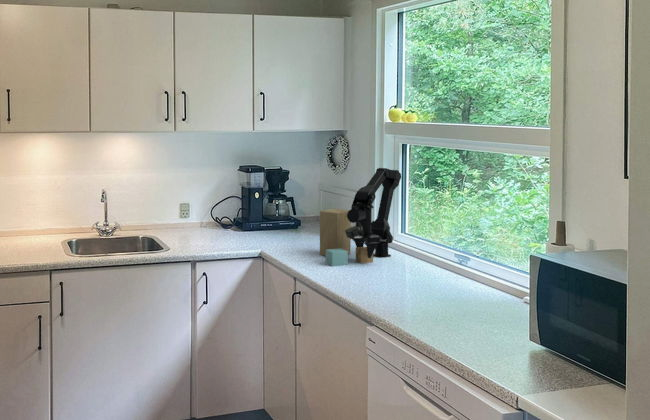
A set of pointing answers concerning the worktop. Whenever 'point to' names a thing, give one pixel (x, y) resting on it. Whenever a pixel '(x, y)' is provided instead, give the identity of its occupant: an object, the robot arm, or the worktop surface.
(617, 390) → the worktop surface
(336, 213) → the wooden block
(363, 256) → the walnut cube
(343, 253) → the teal block
